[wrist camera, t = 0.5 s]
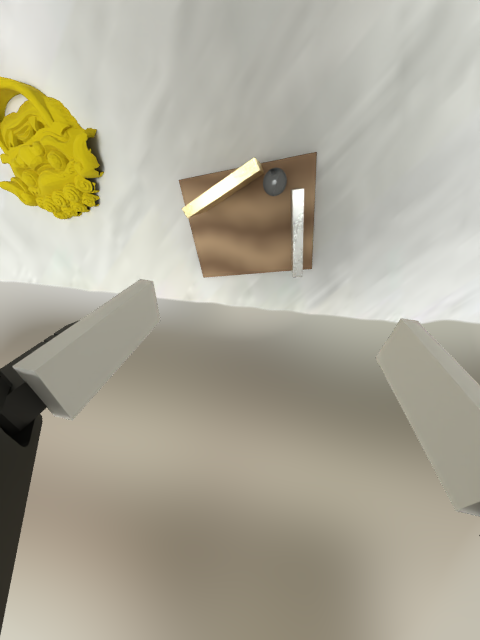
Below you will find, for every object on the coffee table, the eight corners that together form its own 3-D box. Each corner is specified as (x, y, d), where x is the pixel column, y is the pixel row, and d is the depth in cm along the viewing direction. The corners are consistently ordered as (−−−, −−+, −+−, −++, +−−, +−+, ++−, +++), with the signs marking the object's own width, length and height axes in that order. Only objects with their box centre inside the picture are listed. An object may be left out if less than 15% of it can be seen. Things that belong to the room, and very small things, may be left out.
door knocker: (-5, 57, 27) (-48, 38, 23) (109, 136, 29) (85, 130, 26) (10, 185, 36) (-19, 185, 32) (96, 237, 38) (77, 243, 35)
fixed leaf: (267, 174, 27) (261, 170, 20) (299, 167, 26) (306, 161, 19) (272, 263, 34) (270, 283, 27) (299, 260, 33) (303, 281, 26)
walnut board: (181, 180, 30) (178, 180, 29) (315, 152, 26) (316, 151, 25) (205, 275, 38) (203, 277, 37) (310, 266, 34) (311, 268, 33)
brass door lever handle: (276, 152, 25) (274, 143, 20) (288, 187, 27) (290, 187, 22) (200, 204, 30) (181, 208, 25) (215, 231, 32) (200, 240, 26)
